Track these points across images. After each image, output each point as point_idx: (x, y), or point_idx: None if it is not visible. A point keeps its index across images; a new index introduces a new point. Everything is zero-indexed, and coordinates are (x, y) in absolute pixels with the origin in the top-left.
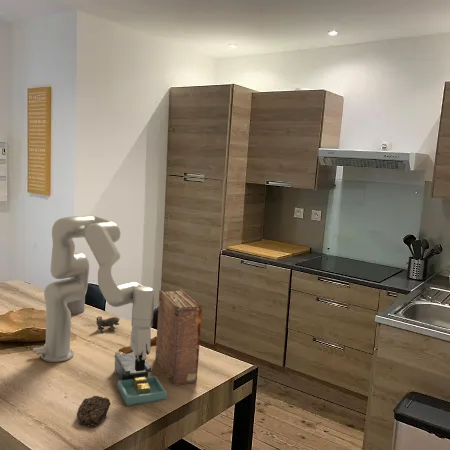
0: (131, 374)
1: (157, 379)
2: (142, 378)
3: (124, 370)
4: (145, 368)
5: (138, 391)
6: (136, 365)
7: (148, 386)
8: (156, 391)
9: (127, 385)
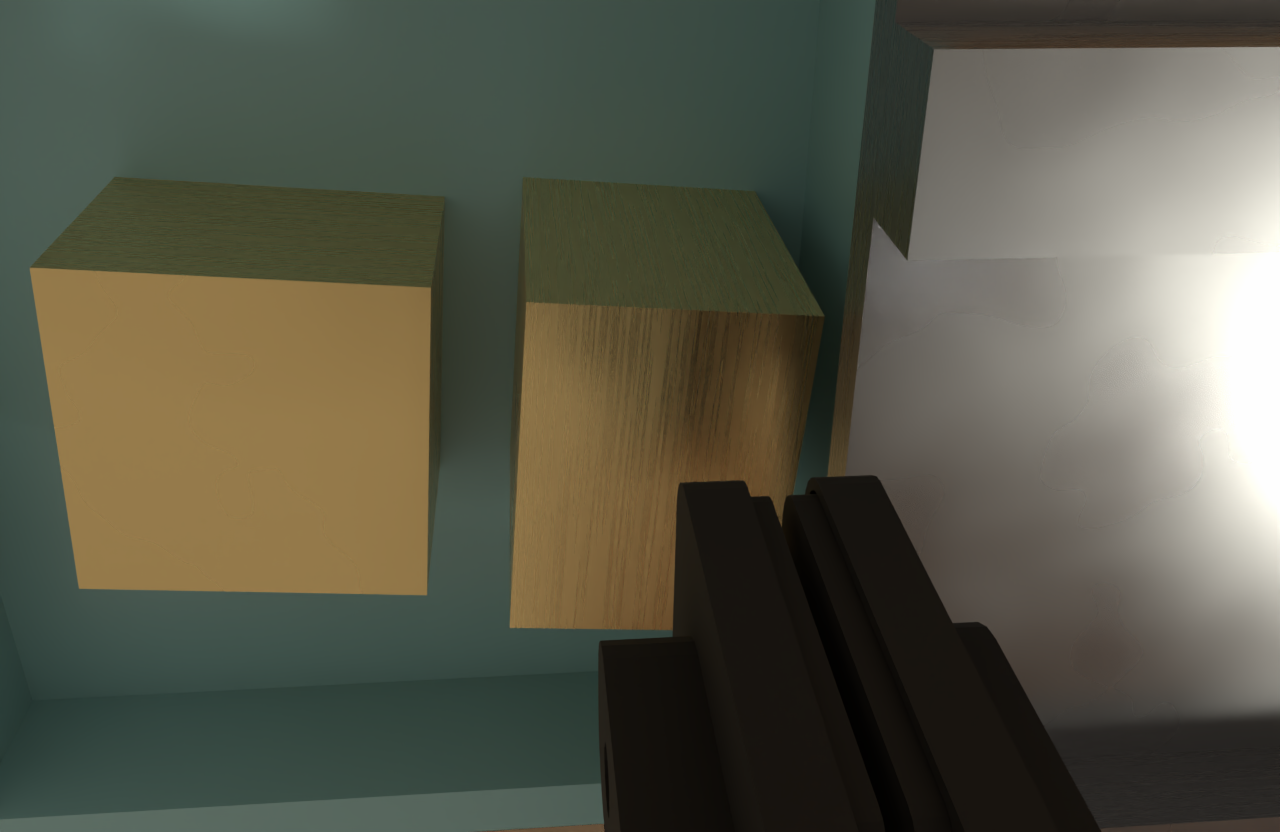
0: (850, 256)
1: None
2: (582, 530)
3: (1149, 32)
4: None
5: (111, 233)
6: (716, 661)
7: (189, 565)
8: (347, 634)
9: (824, 35)
